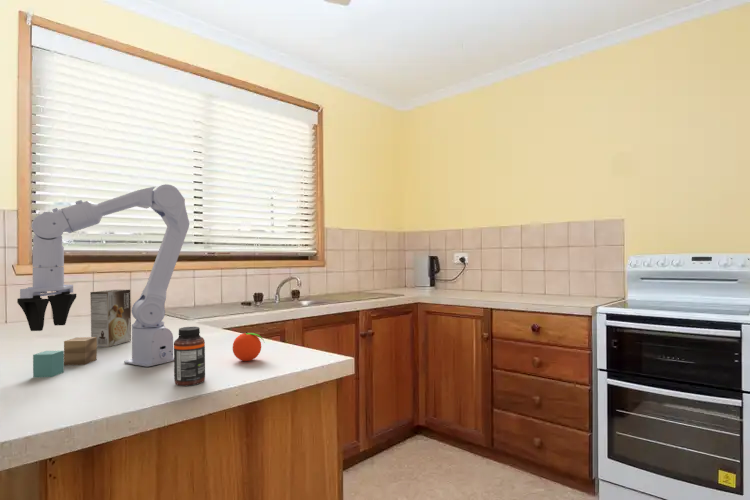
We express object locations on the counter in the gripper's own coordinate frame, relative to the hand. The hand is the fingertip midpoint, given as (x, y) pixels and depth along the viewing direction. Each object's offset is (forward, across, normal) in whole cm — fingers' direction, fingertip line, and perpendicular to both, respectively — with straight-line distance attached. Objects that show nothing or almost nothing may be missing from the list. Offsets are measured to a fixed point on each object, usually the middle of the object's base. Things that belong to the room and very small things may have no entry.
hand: (48, 327), depth 101 cm
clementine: (+11, -10, +42) cm, 44 cm away
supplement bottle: (+11, +9, +34) cm, 37 cm away
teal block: (+10, 0, 0) cm, 10 cm away
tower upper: (+8, -12, 0) cm, 14 cm away
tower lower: (+11, -12, 0) cm, 16 cm away
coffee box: (+11, -36, -5) cm, 38 cm away
